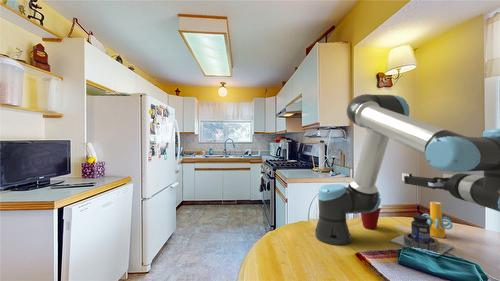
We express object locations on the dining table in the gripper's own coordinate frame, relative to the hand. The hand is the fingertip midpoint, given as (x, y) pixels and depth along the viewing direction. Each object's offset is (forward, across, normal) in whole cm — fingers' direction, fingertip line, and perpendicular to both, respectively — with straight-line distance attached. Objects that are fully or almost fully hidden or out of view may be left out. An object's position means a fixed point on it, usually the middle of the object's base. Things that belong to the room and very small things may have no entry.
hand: (423, 177), depth 79 cm
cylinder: (+24, +18, -30) cm, 42 cm away
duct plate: (+12, +5, -30) cm, 33 cm away
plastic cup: (+29, -9, -30) cm, 43 cm away
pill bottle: (+12, +5, -30) cm, 32 cm away
